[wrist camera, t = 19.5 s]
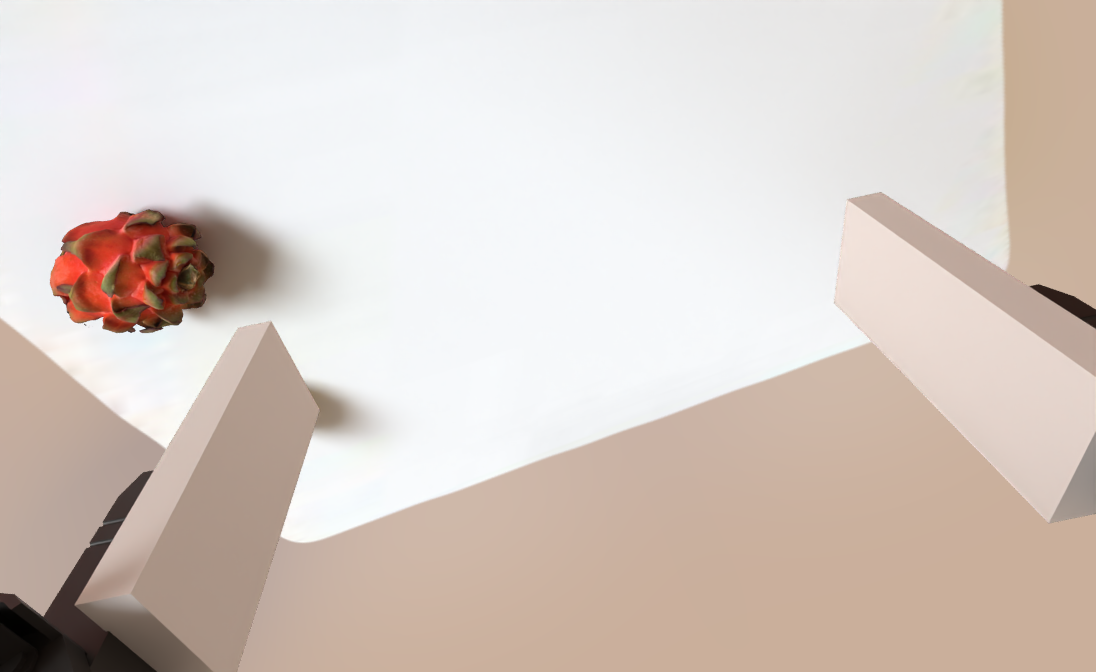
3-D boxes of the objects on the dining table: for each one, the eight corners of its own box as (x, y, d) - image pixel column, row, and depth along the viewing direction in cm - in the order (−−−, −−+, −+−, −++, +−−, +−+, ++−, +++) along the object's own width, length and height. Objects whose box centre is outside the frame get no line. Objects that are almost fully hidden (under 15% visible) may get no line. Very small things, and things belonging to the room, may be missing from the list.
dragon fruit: (242, 216, 45) (128, 267, 48) (134, 161, 38) (6, 225, 41) (247, 317, 43) (127, 364, 46) (133, 281, 35) (-3, 340, 38)
